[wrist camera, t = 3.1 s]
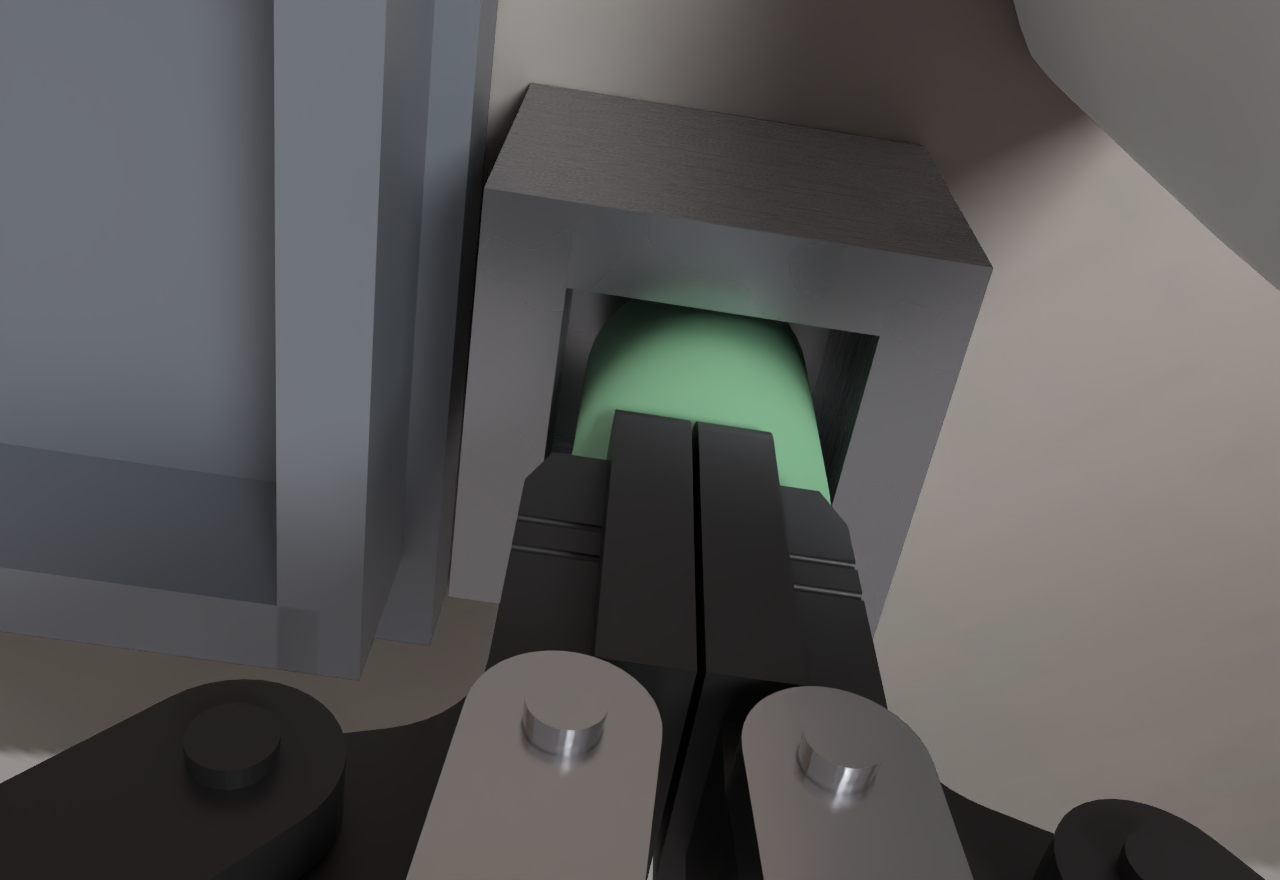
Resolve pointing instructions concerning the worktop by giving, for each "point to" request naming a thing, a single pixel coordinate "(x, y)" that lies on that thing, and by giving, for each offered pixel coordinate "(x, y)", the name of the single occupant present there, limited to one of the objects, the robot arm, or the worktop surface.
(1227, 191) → the eye dropper bottle
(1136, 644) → the worktop surface
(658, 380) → the button
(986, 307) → the worktop surface
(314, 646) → the tray
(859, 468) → the button box
